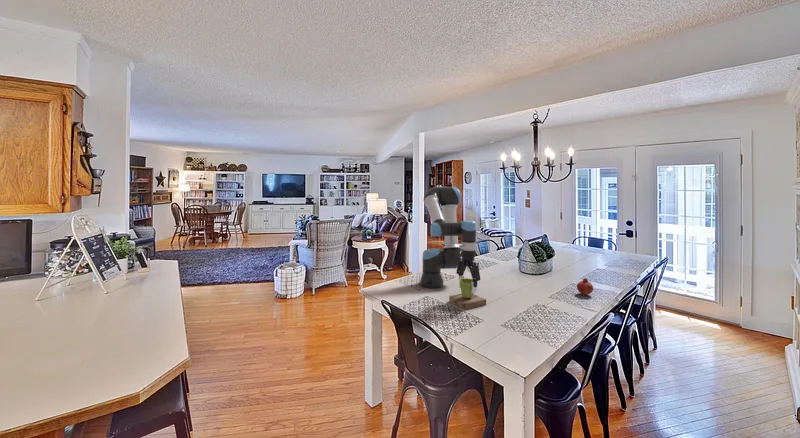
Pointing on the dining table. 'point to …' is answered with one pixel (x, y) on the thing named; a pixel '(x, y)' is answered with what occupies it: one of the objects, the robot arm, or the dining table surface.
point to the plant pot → (466, 287)
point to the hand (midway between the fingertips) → (467, 289)
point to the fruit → (585, 287)
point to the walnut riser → (467, 301)
